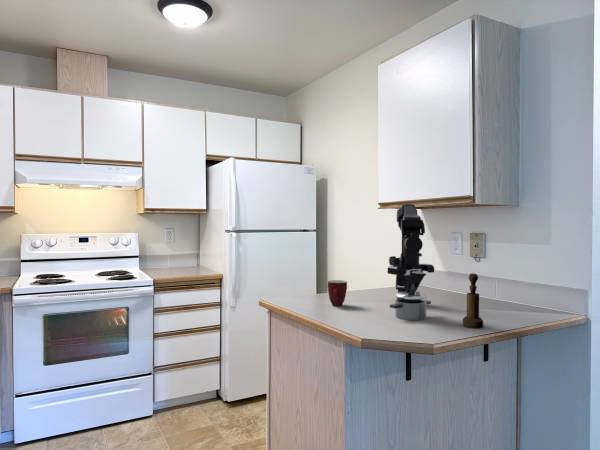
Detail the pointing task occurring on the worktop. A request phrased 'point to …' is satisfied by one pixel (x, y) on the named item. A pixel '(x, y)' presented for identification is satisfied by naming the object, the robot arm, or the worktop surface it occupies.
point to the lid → (411, 294)
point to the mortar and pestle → (473, 306)
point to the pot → (410, 309)
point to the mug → (337, 291)
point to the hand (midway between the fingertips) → (410, 292)
